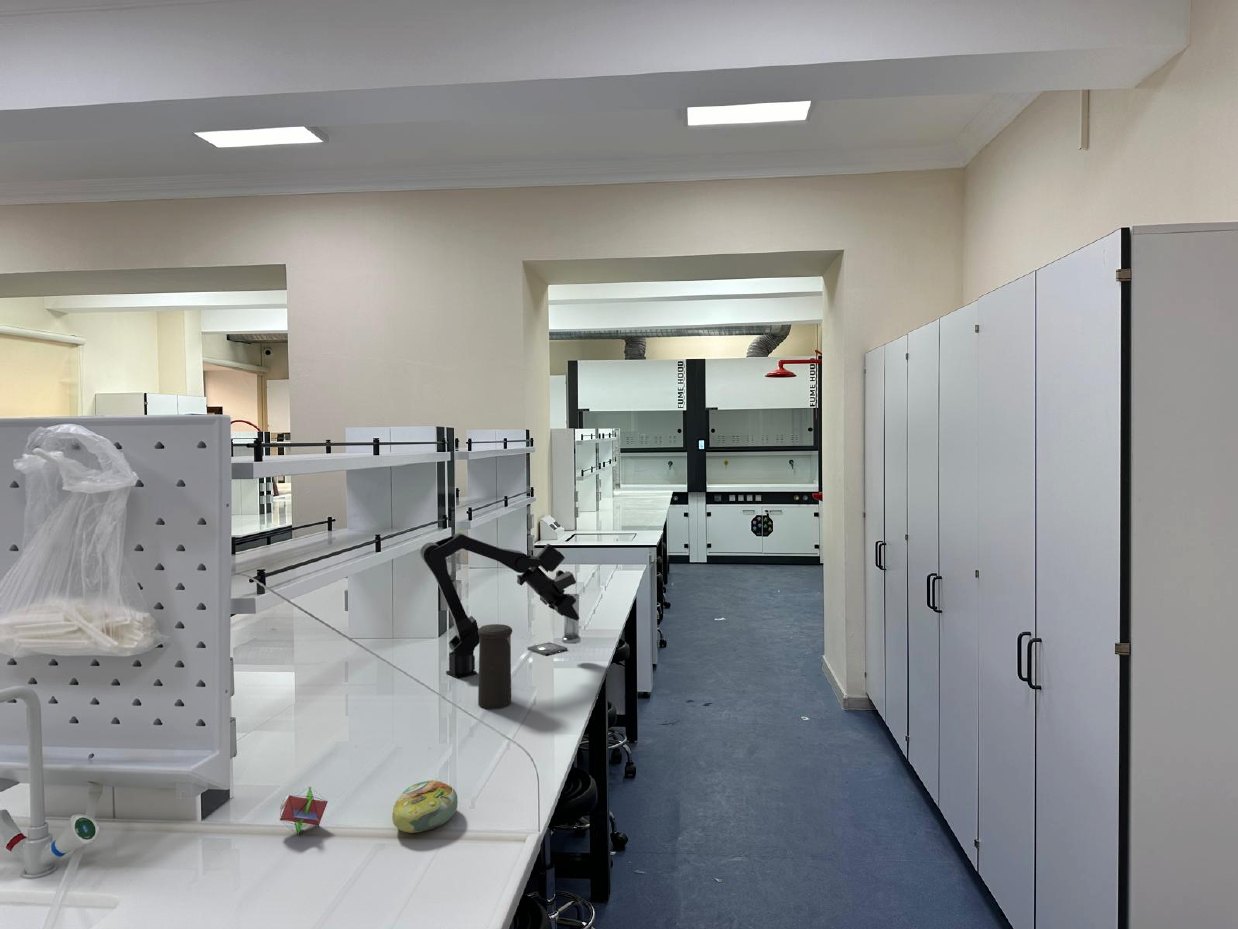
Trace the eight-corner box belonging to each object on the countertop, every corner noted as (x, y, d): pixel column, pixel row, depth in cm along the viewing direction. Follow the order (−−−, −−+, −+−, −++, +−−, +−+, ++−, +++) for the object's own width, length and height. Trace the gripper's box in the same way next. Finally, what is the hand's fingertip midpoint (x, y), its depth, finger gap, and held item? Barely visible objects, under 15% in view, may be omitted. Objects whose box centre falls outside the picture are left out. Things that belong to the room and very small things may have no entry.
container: (519, 701, 199) (519, 624, 198) (496, 712, 191) (496, 632, 191) (493, 695, 204) (493, 620, 203) (469, 705, 196) (469, 627, 195)
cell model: (377, 827, 130) (402, 760, 144) (392, 859, 133) (415, 791, 147) (438, 818, 129) (457, 751, 143) (452, 850, 132) (470, 782, 146)
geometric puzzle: (333, 801, 140) (304, 772, 137) (339, 818, 134) (309, 787, 131) (299, 832, 137) (269, 803, 135) (303, 851, 131) (272, 820, 129)
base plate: (544, 655, 241) (544, 652, 241) (527, 649, 247) (527, 646, 247) (567, 650, 247) (567, 647, 247) (549, 644, 253) (549, 641, 253)
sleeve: (570, 644, 230) (570, 597, 230) (558, 641, 234) (558, 594, 234) (584, 641, 234) (584, 595, 234) (572, 638, 238) (572, 592, 238)
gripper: (569, 568, 223) (605, 604, 228) (550, 558, 241) (583, 592, 245) (543, 597, 221) (579, 632, 225) (525, 585, 238) (559, 618, 242)
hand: (575, 617), depth 235 cm, fingers closed on sleeve, 4 cm apart
